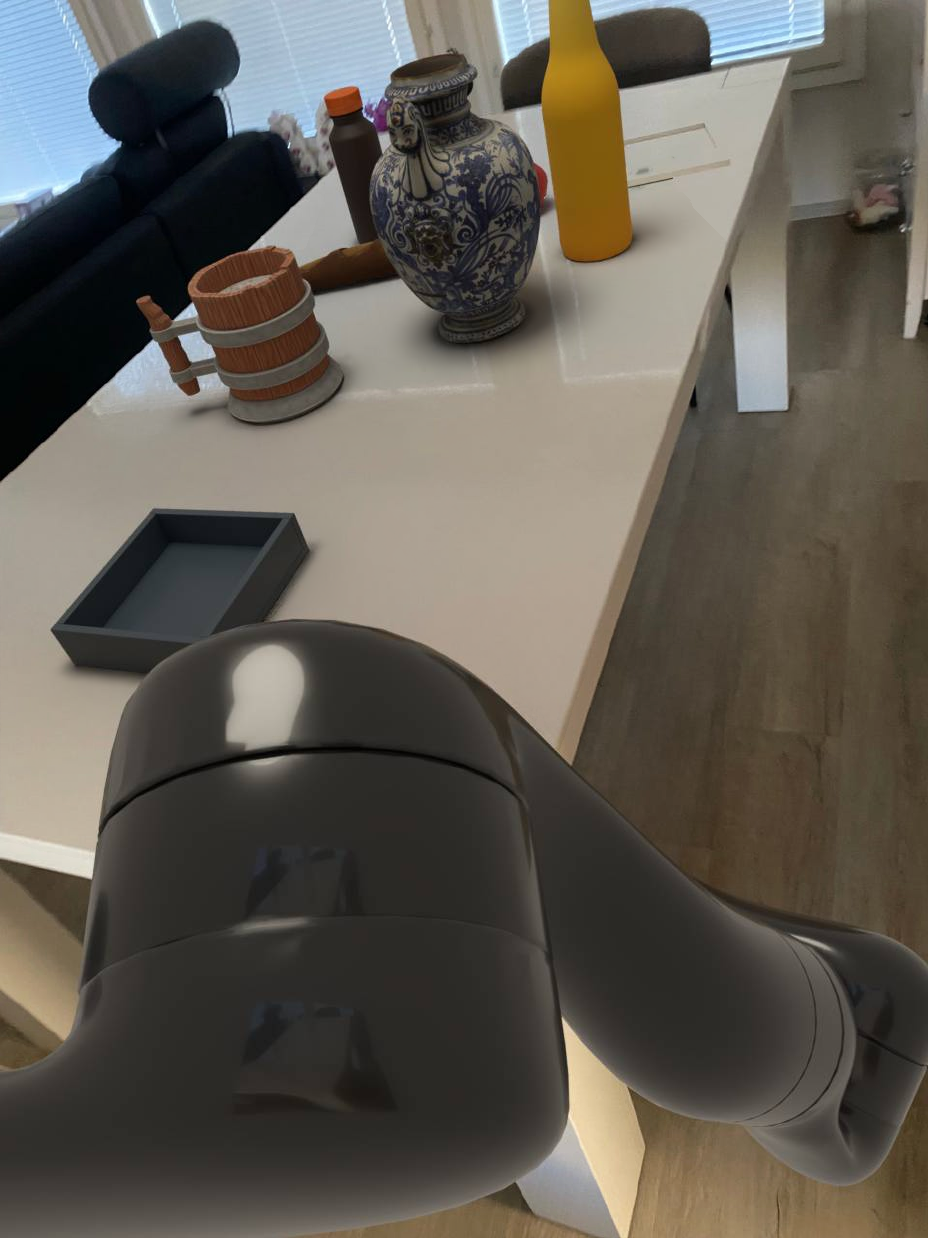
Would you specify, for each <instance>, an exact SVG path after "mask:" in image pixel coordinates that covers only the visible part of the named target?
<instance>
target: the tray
mask: <svg viewBox="0 0 928 1238" xmlns="http://www.w3.org/2000/svg"><path fill="white" fill-rule="evenodd" d="M309 551H310V548H309V546H308V544H307V541H306V538H305V535H304V533H303V531H302V528H301V526H300V524H299V521H298V518H297V516H296V514H295V512H280V511H279V512H278V511H277V512H273V511H250V510H249V511H246V510H216V509H215V510H214V509H190V508H189V509H188V508H187V509H186V508H185V509H184V508H158V507H157V508H156V507H154V508H152V509H151V510H150V511H149V513H148V514H147V515H146V517H145V518H144V519H143V520H142V521H141V523H140V524H138V526H137V527H136V528H135V529H134V530H133V532H132V533H131V534H130V535H129V536H128V537H127V538H126V539H125V541H124V542H123V543H122V544H121V546H120V547H119V548H118V550H117V551H115V553H114V554H113V555H112V556H111V558H109V560H108V561H107V562H106V563H105V565H104V566H103V567H102V568H101V570H100V571H98V573H97V574H96V575H95V576H94V577H93V579H92V580H91V581H90V582H89V584H87V586H86V587H85V588H84V589H83V590H82V592H81V593H80V594H79V595H77V597H76V598H75V600H74V601H73V602H72V603H71V604H70V606H69V607H68V608H67V609H66V610H65V611H64V613H63V614H62V615H61V616H60V617H59V619H57V621H56V622H55V623H54V624H53V625H52V626H51V628H50V629H49V630H50V632H51V633H52V635H53V637H54V638H55V640H56V641H57V642H58V644H59V645H60V646H61V648H62V649H63V651H64V653H66V655H67V656H68V658H69V659H70V660H71V662H72V664H73V665H75V666H82V667H91V668H92V667H94V668H101V669H108V670H117V671H126V672H127V671H128V672H136V673H145V674H148V673H149V672H150V671H151V670H152V669H153V668H154V667H155V666H157V665H158V664H159V663H160V662H162V661H163V660H165V659H166V658H168V657H169V656H171V655H172V654H174V653H176V652H177V651H179V650H181V649H183V648H185V647H187V646H189V645H191V644H193V643H195V642H197V641H199V640H201V639H203V638H205V637H207V636H210V635H213V634H217V633H220V632H224V631H227V630H230V629H234V628H237V627H241V626H244V625H250V624H256V623H264V620H265V619H266V617H267V616H268V614H269V613H270V611H271V610H272V608H273V606H274V605H275V603H276V602H277V600H278V599H279V598H280V596H281V594H282V592H283V591H284V590H285V588H286V586H287V585H288V583H289V582H290V581H291V579H292V578H293V576H294V574H295V573H296V571H297V570H298V568H299V567H300V565H301V563H302V562H303V560H304V559H305V557H306V556H307V554H308V553H309Z"/></svg>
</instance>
